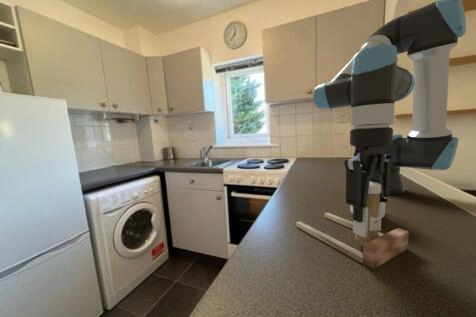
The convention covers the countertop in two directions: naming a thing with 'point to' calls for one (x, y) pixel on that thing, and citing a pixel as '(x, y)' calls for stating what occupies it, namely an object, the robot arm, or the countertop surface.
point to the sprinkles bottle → (372, 213)
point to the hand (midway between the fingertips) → (366, 231)
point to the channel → (372, 251)
